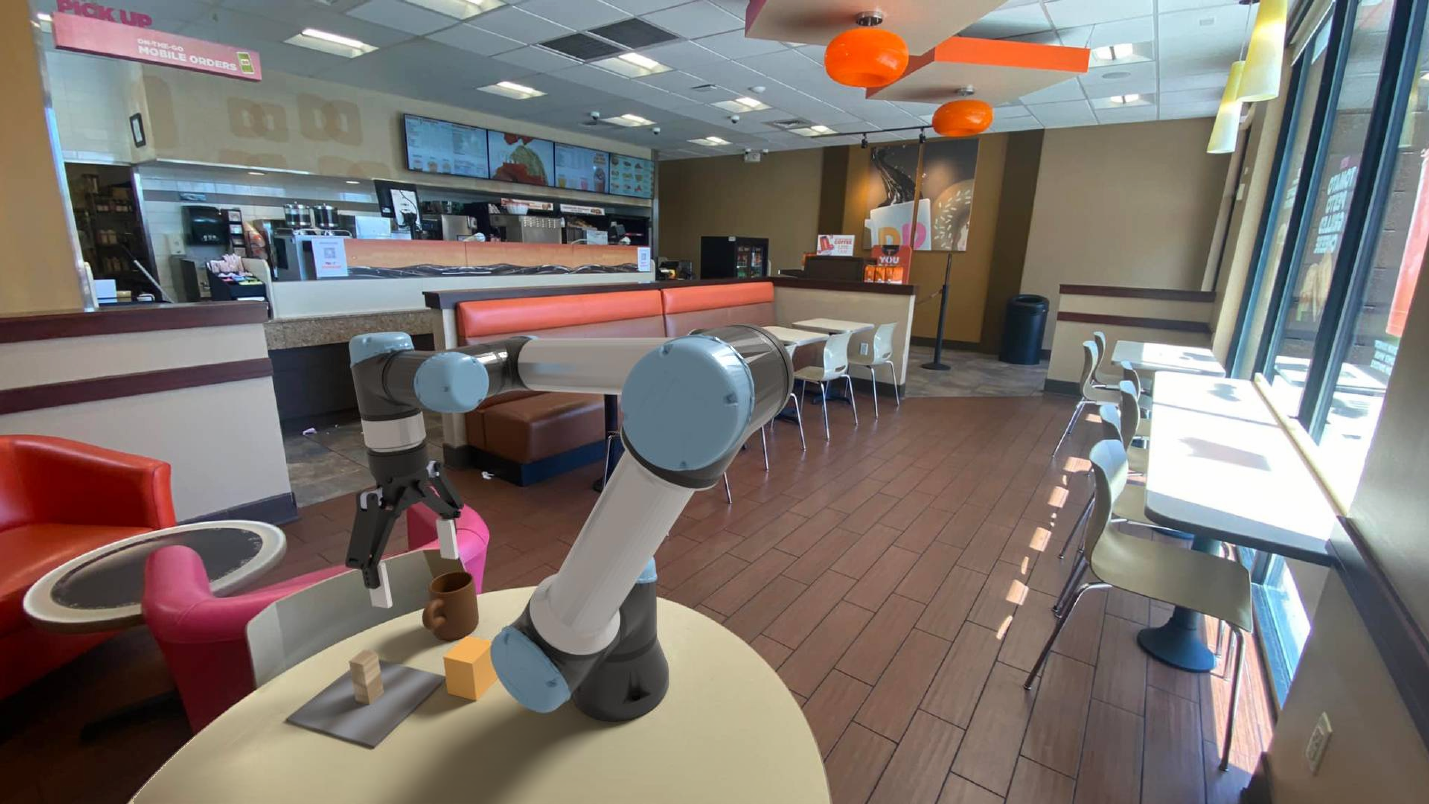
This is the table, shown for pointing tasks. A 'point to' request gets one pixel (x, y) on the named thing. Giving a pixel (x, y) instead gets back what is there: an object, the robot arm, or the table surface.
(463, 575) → the mug
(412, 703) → the grey rubber mat
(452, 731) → the table surface
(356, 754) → the table surface
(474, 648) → the orange foam cube
